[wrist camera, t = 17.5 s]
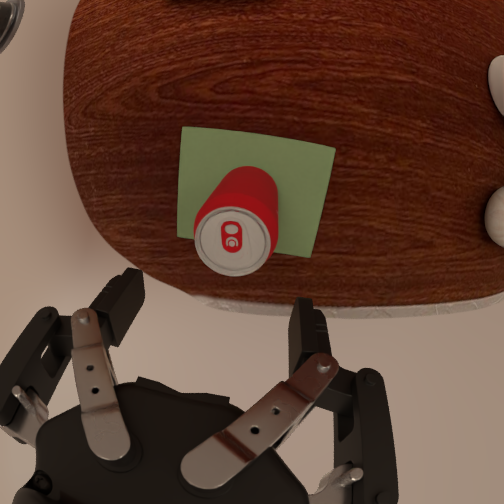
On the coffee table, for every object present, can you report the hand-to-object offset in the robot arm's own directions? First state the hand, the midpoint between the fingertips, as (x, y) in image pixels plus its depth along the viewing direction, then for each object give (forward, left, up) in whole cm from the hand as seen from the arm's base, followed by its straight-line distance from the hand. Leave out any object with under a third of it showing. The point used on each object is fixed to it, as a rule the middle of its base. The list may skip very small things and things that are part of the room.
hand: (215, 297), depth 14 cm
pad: (0, 0, -18) cm, 18 cm away
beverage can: (0, 0, -18) cm, 18 cm away
